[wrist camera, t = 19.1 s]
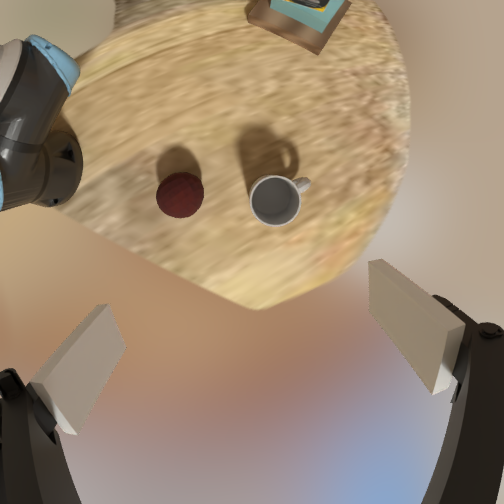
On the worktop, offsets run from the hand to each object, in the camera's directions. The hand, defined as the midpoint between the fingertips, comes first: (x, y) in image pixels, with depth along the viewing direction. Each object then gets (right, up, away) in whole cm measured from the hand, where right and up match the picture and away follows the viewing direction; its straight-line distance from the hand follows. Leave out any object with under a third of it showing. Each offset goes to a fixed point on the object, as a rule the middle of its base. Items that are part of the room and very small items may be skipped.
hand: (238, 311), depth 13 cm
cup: (+5, +13, +35) cm, 37 cm away
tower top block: (+10, +46, +22) cm, 52 cm away
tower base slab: (+9, +47, +26) cm, 54 cm away
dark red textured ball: (-11, +13, +35) cm, 38 cm away
